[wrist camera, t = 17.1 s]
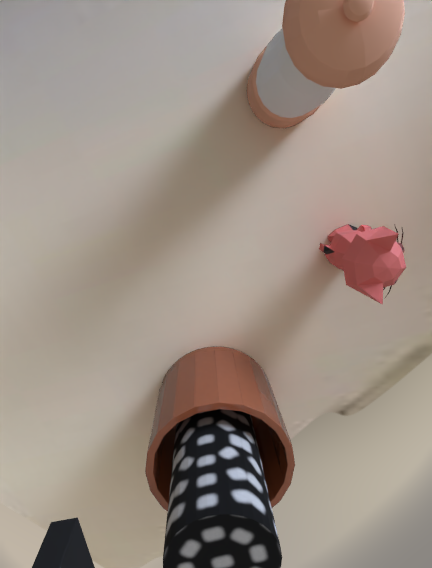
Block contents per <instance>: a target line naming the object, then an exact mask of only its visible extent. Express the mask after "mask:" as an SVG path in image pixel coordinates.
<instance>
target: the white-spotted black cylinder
mask: <svg viewBox="0 0 432 568" xmlns="http://www.w3.org/2000/svg"><path fill="white" fill-rule="evenodd" d="M281 560H282V555H281V548H280V544H279V539H278V535H277V530H276V525H275V521H274V516H273V512H272V507H271V503H270V498H269V494H268V489H267V485H266V480H265V476H264V471H263V467H262V462H261V458H260V453H259V449H258V444H257V440H256V435H255V431H254V426H253V422H252V417H251V415H249V414H247V413H244V412H242V411H234V410H223V409H217V410H212V411H206V412H201V413H197V414H195V415H193V416H191V417H189V418H187V419H185V420H183V421H181V422H179V423H177V424H176V432H175V442H174V452H173V463H172V473H171V483H170V493H169V503H168V514H167V524H166V534H165V544H164V555H163V568H280V567H281Z"/></svg>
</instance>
